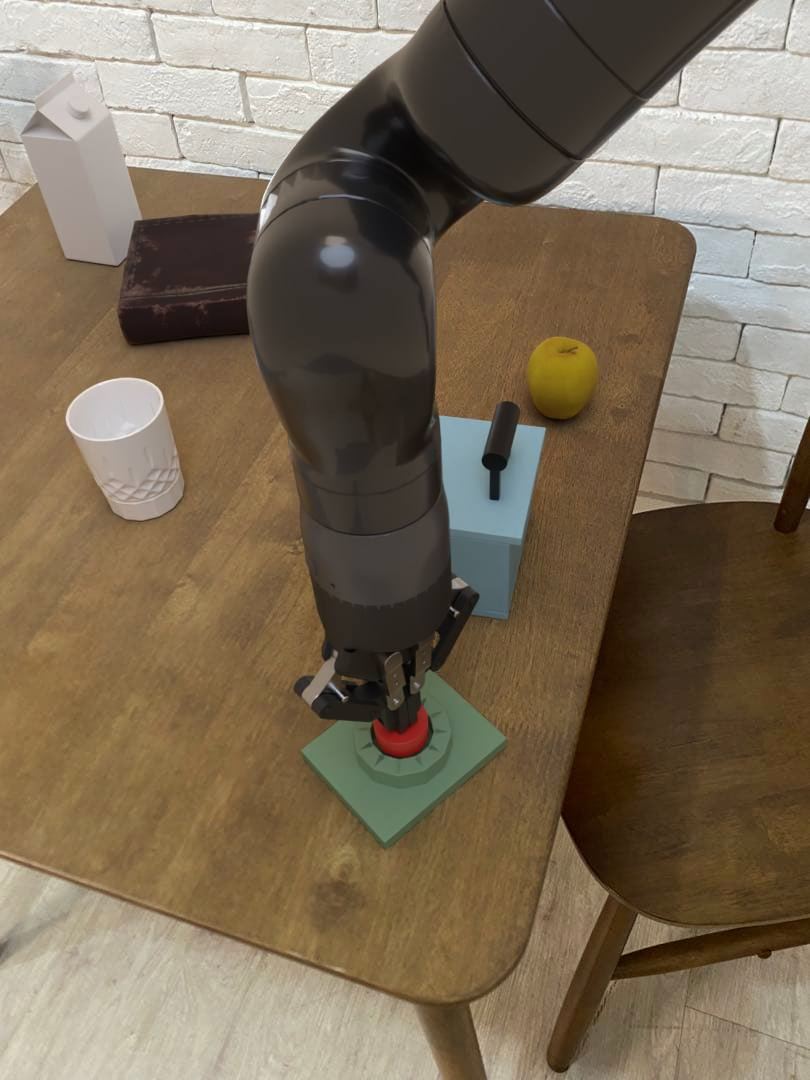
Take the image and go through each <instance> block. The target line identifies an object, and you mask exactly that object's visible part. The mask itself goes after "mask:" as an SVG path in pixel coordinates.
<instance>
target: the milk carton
mask: <svg viewBox="0 0 810 1080" xmlns="http://www.w3.org/2000/svg"><path fill="white" fill-rule="evenodd" d="M32 100H33V104H34V106H35V109H36V111H35V112H34V113H33V115H32V116H31V118H30V119H29V121H28V122H27V124H26V125H25V127H24V128H23V129H22V131H21V132H20V134H19V137H20V139H21V142H22V145H23V147H24V150H25V152H26V156H27V158H28V160H29V164H30V166H31V169H32V172H33V174H34V177H35V180H36V182H37V184H38V187H39V190H40V193H41V195H42V198H43V201H44V204H45V206H46V209H47V211H48V214H49V217H50V220H51V222H52V225H53V227H54V231H55V232H56V236H57V238H58V242H59V243H60V246H61V250H62V252H63V255H64V257H65V259H67V260H72V261H73V260H74V261H79V262H80V261H81V262H87V263H95V264H101V265H108V266H115V267H118V266H119V265H120V264H122V262H124V261H125V260H126V258H127V253H128V248H129V243H130V239H131V234H132V230H133V225H134V221H138V220H143V217H142V213H141V210H140V207H139V203H138V199H137V196H136V193H135V190H134V186H133V183H132V179H131V176H130V172H129V168H128V165H127V163H126V158H125V155H124V152H123V149H122V146H121V142H120V139H119V135H118V132H117V128H116V125H115V121H114V118H113V114H112V112H111V110H110V109H109V108H108V107H106V106H105V105H104V103H102V102H101V101H99V100H98V99H97V98H96V97H95V96H94V95H92V94H91V93H90V92H89V91H87V90H86V88H84V87H83V86H82V85H80V83H78V82H77V81H76V79H75V76H74V72H73V71H72V70H70V71H68V72H67V73H66V74H65V75H63V76H62V77H60V78H59V79H58V80H56V81H55V82H54V83H53V84H51V85H50V86H48V87H47V88H46V89H45V90H43V91H42V92H41V93H39V95H37V96H36V97H34V98H33V99H32Z"/></svg>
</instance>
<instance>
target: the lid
mask: <svg viewBox="0 0 810 1080" xmlns="http://www.w3.org/2000/svg"><path fill="white" fill-rule="evenodd" d="M520 416H521V409H520V407H519V405H518V404H517V403H515V402H514V401H510V400H502V401H500V402H499V403H497V404H496V406H495V409H494V413H493V417H492V420H484V419H483V420H482V419H474V418H466V417H465V418H464V417H457V416H448V415H440V414H439V419H440V429H441V441H442V465H443V484H444V488H445V492H446V496H447V501H448V507H449V516H450V536H456V537H463V538H470V539H477V540H484V541H491V542H498V543H505V544H512V545H519V546H521V545H522V540H523V535H524V531H525V526H526V522H527V517H528V513H529V508H530V504H531V505H532V502H531V499H533V494H534V489H535V485H536V480H537V476H538V471H539V467H540V462H541V458H542V454H543V449H544V444H545V440H546V435H547V427H545V426H544V427H543V426H535V425H534V426H533V425H527V424H519V419H520Z"/></svg>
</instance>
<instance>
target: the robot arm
mask: <svg viewBox="0 0 810 1080" xmlns="http://www.w3.org/2000/svg"><path fill="white" fill-rule="evenodd" d="M759 1H760V0H438V1H437V3H436V4H435V5H434V7H432V9H431V10H430V12H428V14H427V16H426V17H425V18H424V19H423V21H422V22H421V24H420V25H419V27H418V28H417V30H416V31H415V33H413V35H412V36H411V37H410V38H409V40H407V42H406V43H405V44H404V45H403V46H401V47H400V48H399V49H398V50H397V51H395V52H394V53H393V54H391V55H390V56H388V58H386V59H385V60H383V61H382V62H380V64H378V65H377V66H376V67H374V68H373V69H372V70H371V71H370V72H369V73H367V74H366V75H365V76H364V77H362V79H361V80H360V81H358V83H356V84H355V85H354V86H353V87H352V88H350V90H348V91H347V92H346V93H345V94H343V96H341V97H340V98H339V99H338V100H337V101H336V102H334V103H333V104H332V105H331V106H330V107H329V108H328V109H327V110H326V111H325V112H324V113H323V114H322V115H321V116H320V117H319V118H318V119H317V120H315V122H314V123H313V124H312V125H310V127H309V128H308V129H307V130H306V131H305V132H304V134H303V135H301V137H300V138H299V139H298V140H297V142H296V143H295V144H294V145H293V146H292V148H291V149H290V151H289V152H288V153H287V155H286V156H285V157H284V159H283V160H282V161H281V163H280V164H279V166H278V167H277V169H276V170H275V172H274V174H273V175H272V177H271V179H270V181H269V182H268V184H267V187H266V189H265V191H264V194H263V197H262V200H261V203H260V206H259V211H258V212H259V216H258V222H257V228H256V233H255V239H254V245H253V251H252V257H251V261H250V266H249V272H248V277H247V288H246V305H247V316H248V324H249V331H250V332H249V337H250V342H251V346H252V350H253V355H254V359H255V363H256V366H257V369H258V372H259V375H260V378H261V380H262V383H263V385H264V387H265V390H266V392H267V395H268V397H269V399H270V401H271V404H272V405H273V408H274V410H275V412H276V414H277V417H278V420H279V421H280V424H281V425H282V427H283V429H284V430H285V432H286V434H287V443H288V448H289V449H288V450H289V454H290V455H289V456H290V462H291V465H292V470H293V475H294V480H295V486H296V490H297V495H298V500H299V501H298V502H299V527H300V534H301V539H302V544H303V548H304V560H305V564H306V566H307V569H308V572H309V576H310V582H311V586H312V591H313V595H314V596H313V597H314V600H315V605H316V609H317V613H318V617H319V620H320V624H321V625H322V628H323V630H324V639H323V642H322V645H321V649H320V650H321V651H320V654H321V657H322V660H323V661H324V663H323V664H322V666H321V667H320V668H319V670H318V671H317V672H316V675H309V674H305V675H302V676H301V677H299V678H298V679H297V680H296V681H295V683H294V684H293V688H292V689H293V691H294V693H295V694H296V695H297V696H298V697H299V698H300V699H301V700H302V701H303V702H304V703H305V704H306V705H307V706H308V708H310V709H311V710H312V712H313V713H314V714H315V715H317V717H318V718H319V719H320V720H330V721H331V720H332V721H339V720H343V721H357V722H372V721H373V720H375V719H377V720H378V721H379V722H380V723H381V724H382V725H383V726H384V727H385V728H386V729H387V730H388V731H389V732H391V733H392V732H393V731H394V730H395V731H396V732H397V733H398V734H400V735H401V734H402V733H403V732H405V731H406V730H407V729H408V728H410V727H411V726H412V725H413V724H415V723H416V722H417V721H418V716H417V712H418V711H419V710H420V707H421V697H420V696H421V695H420V690H421V689H422V687H423V686H424V684H425V673H426V672H427V671H428V670H429V669H430V670H431V671H432V672H435V673H436V672H439V670H441V669H442V667H443V666H444V665H445V663H446V662H447V659H448V657H449V656H450V654H451V652H452V650H453V649H454V646H455V645H456V643H457V641H458V639H459V637H460V635H461V634H462V632H463V630H464V628H465V626H466V625H467V623H468V620H469V619H470V616H471V613H472V611H473V609H474V608H475V606H476V604H477V602H478V600H479V597H480V595H479V594H478V593H477V592H476V591H475V590H474V589H472V588H471V586H469V585H468V584H467V583H466V582H465V581H463V580H462V579H461V578H459V577H458V576H456V575H455V574H454V573H453V572H451V544H450V516H449V507H448V501H447V496H446V492H445V488H444V484H443V465H442V441H441V429H440V419H439V415H440V414H439V413H440V412H439V408H438V403H437V399H436V386H437V385H436V384H437V358H438V357H437V353H438V352H437V351H438V350H437V349H438V347H437V346H438V345H437V344H438V324H437V323H438V319H437V318H438V315H437V314H438V313H437V311H438V309H437V285H436V283H437V282H436V272H435V271H436V270H435V254H434V253H435V252H434V248H435V247H436V246H437V244H438V243H439V242H440V240H442V238H443V237H444V236H445V235H446V233H447V232H448V231H449V230H450V229H452V227H453V226H454V225H455V224H456V223H458V222H459V221H461V219H463V218H464V217H465V216H466V215H469V213H470V212H472V211H473V210H474V209H476V208H477V207H478V206H480V205H481V204H482V203H484V202H488V203H491V204H494V205H496V206H499V207H506V208H519V207H524V206H527V205H531V204H533V203H535V202H537V201H539V200H540V199H542V198H543V197H545V196H547V195H548V194H549V193H551V192H553V190H554V189H556V188H557V187H558V186H560V185H561V184H562V183H563V182H564V181H566V180H567V179H568V178H569V177H570V176H571V175H572V174H574V173H575V172H576V171H577V170H578V169H579V168H580V167H581V166H582V165H583V164H585V162H587V159H589V158H591V157H592V156H593V155H594V154H595V153H596V152H597V151H598V150H599V149H601V148H602V146H603V145H605V144H606V143H607V142H608V141H609V140H610V139H611V138H612V137H613V136H614V135H615V134H616V133H618V131H619V130H621V129H622V128H623V127H624V126H625V125H626V124H627V123H628V122H629V121H630V120H631V119H632V118H633V117H634V116H635V115H636V114H637V113H639V111H641V109H643V108H644V107H645V106H646V105H647V104H648V103H649V102H650V100H652V99H654V97H655V96H656V95H658V94H659V93H660V92H661V91H662V90H663V89H664V88H665V87H666V86H667V85H668V84H669V83H670V82H671V81H672V80H673V79H674V78H676V77H677V76H678V74H680V73H681V72H682V71H683V70H684V69H685V68H686V67H687V66H688V65H689V64H690V63H691V62H692V61H693V60H694V59H695V58H696V57H698V55H699V54H700V53H702V52H703V51H704V50H705V49H706V48H707V47H709V46H710V45H711V44H712V43H713V42H714V41H715V40H716V39H717V38H718V37H720V36H721V35H722V34H723V33H724V32H725V31H726V30H727V29H728V28H730V27H731V26H732V25H733V24H734V23H735V22H736V21H738V20H739V18H740V17H742V16H743V15H744V14H745V13H746V12H748V10H750V9H751V8H752V7H753V6H755V4H756V3H758V2H759ZM436 633H437V634H438V636H439V639H438V641H437V643H436V644H435V647H434V646H433V645H432V644H433V641H435V640H436ZM343 677H345V678H351V679H356V680H360V681H363V683H362V684H361V685H360V684H358V683H357V681H352V680H346V679H345V680H344V679H342V678H343Z"/></svg>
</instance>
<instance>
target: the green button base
mask: <svg viewBox="0 0 810 1080" xmlns="http://www.w3.org/2000/svg"><path fill="white" fill-rule="evenodd" d="M420 695H421V696H420V697H421V705H422V706H423V707H424V708H425V710H426V713H427V716H428V727H429V736H428V740H427V742H426V744H425V746H424V747H423V748H422V749H421V750H420V751H419V752H417V753H415V754H413V755H411V756H407V757H395V756H392V755H389V754H387V753H386V752H384V751H383V750H382V749H381V748H380V747H379V745H378V743H377V741H376V737H375V731H374V725H373V721H372V722H357V721H343V720H337V721H336V722H335V723H334V724H332V725H331V726H330V727H328V728H327V729H326V730H324V731H323V732H322V733H321V734H319V735H318V736H316V737H315V738H314V739H313V740H311V741H310V742H309V743H308V744H307V745H304V747H302V748H301V749H300V753H301V757H302V759H303V761H305V763H306V764H307V765H308V766H309V767H310V768H311V769H312V771H313V772H314V773H315V774H316V775H317V776H318V777H319V778H320V780H322V781H323V783H324V784H325V785H326V787H328V788H329V789H330V791H331V792H332V793H333V794H334V795H335V796H336V797H337V798H338V799H339V801H341V802H342V804H343V805H344V806H345V807H346V808H347V809H348V811H349V812H351V814H352V815H353V816H354V817H355V818H356V819H357V820H358V822H359V823H360V824H361V825H362V826H363V827H364V828H365V829H366V830H367V831H368V832H369V834H371V836H372V837H373V838H374V839H375V841H377V842H378V843H379V845H380V846H381V847H382V848H383V850H385V851H387V850H388V849H389V848H390V847H392V846H393V845H394V844H395V843H396V842H398V840H400V839H401V838H402V837H403V836H404V835H406V834H407V833H408V832H409V831H410V830H411V829H412V828H414V827H415V826H416V825H417V824H419V823H420V822H421V821H422V820H423V819H424V818H425V817H427V816H428V815H429V814H430V813H431V812H432V811H433V810H435V809H436V808H437V807H438V806H440V805H441V804H442V803H443V802H444V801H445V800H446V799H448V798H449V797H450V796H451V795H452V794H453V793H454V792H455V791H457V790H458V789H459V788H460V787H461V786H462V785H464V784H465V783H466V782H467V781H468V780H469V779H471V778H472V777H473V776H474V775H475V774H476V773H478V772H479V771H480V770H482V769H483V768H484V767H485V766H486V765H487V764H488V763H489V762H490V761H492V760H493V759H494V758H495V757H497V755H499V754H500V753H501V752H502V751H503V750H505V749H506V748H507V746H508V738H507V736H506V735H505V734H504V733H502V732H501V731H500V730H499V729H498V728H497V727H496V726H494V724H493V723H491V721H489V720H488V719H487V718H486V717H485V716H484V715H483V714H481V712H479V710H477V709H476V708H475V707H474V706H473V705H472V704H471V703H469V702H468V701H467V699H465V698H464V697H463V696H462V695H461V694H459V693H458V692H457V691H456V690H455V689H454V688H453V687H452V686H451V685H450V684H449V683H447V682H446V680H444V679H443V678H442V677H441V676H440V675H438V674H437V673H436V672H432V671H431V670H430V669H429V670H428V671H427V672H426V673H425V684H424V686H423V687H422V689H421V690H420Z"/></svg>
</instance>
